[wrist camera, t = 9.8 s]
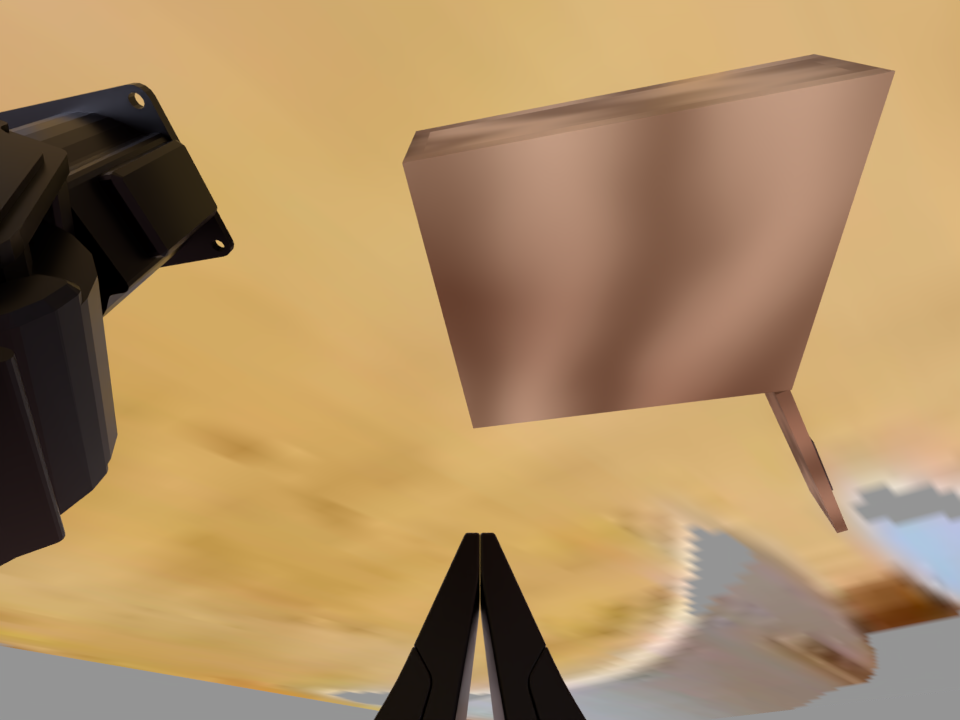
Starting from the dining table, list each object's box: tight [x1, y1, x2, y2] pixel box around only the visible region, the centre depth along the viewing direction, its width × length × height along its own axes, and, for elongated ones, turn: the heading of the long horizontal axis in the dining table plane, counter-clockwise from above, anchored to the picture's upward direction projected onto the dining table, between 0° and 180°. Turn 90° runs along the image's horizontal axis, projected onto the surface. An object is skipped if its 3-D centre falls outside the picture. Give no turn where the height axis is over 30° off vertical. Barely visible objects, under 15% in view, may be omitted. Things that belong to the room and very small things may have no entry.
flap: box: [765, 390, 848, 533], centre depth 26 cm, size 14×1×3 cm, turn 36°
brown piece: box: [402, 54, 895, 428], centre depth 19 cm, size 14×12×4 cm
